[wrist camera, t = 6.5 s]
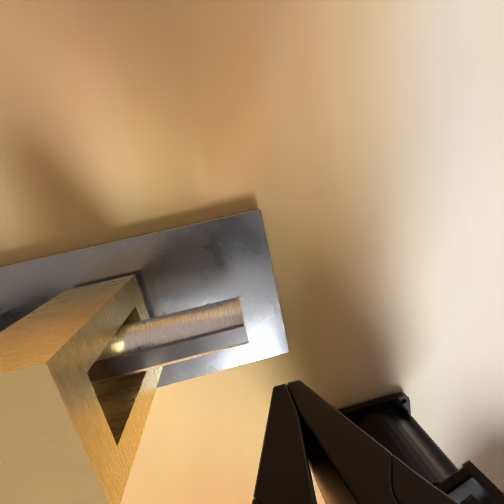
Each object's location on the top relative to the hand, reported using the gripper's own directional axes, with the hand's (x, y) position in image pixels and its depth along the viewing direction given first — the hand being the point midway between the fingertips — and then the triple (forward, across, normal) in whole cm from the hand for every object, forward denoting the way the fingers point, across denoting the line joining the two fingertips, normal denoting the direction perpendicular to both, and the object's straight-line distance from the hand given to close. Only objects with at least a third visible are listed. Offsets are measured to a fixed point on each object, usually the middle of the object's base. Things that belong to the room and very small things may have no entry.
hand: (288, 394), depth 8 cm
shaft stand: (+10, +7, 0) cm, 12 cm away
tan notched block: (+9, +8, 0) cm, 12 cm away
